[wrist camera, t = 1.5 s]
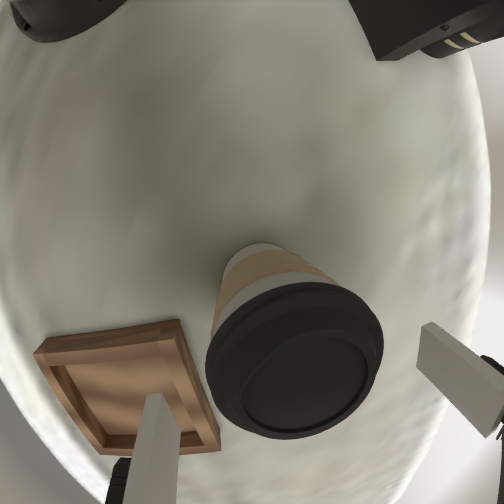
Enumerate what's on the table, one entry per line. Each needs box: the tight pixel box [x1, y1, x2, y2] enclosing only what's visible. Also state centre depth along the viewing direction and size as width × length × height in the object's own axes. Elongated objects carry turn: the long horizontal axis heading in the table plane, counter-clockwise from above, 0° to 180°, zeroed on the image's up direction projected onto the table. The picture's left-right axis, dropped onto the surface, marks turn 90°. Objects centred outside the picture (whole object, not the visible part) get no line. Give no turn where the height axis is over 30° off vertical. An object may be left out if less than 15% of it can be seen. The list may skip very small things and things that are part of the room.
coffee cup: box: [205, 243, 384, 440], centre depth 18 cm, size 9×9×15 cm
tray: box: [33, 319, 221, 456], centre depth 25 cm, size 16×16×4 cm
